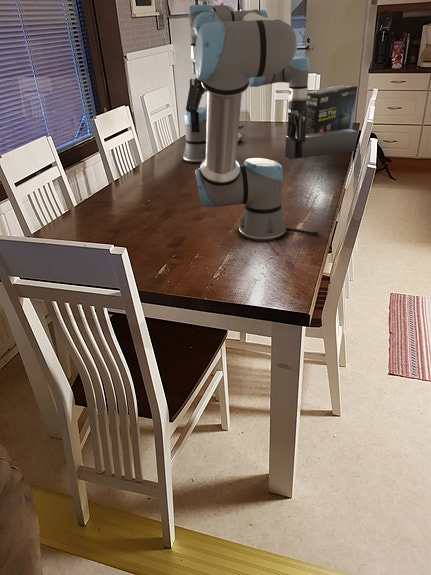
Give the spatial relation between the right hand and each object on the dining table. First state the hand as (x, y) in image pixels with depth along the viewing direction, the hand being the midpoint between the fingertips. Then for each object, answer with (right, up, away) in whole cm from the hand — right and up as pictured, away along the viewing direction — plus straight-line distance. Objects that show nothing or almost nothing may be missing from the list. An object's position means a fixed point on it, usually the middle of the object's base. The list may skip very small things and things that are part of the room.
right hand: (206, 128), depth 160 cm
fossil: (+10, +26, +95) cm, 99 cm away
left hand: (+38, +2, +40) cm, 56 cm away
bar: (+50, +4, +43) cm, 66 cm away
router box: (+62, +21, +85) cm, 107 cm away
